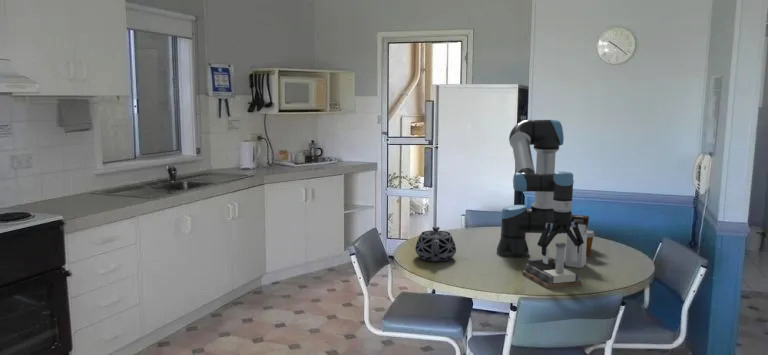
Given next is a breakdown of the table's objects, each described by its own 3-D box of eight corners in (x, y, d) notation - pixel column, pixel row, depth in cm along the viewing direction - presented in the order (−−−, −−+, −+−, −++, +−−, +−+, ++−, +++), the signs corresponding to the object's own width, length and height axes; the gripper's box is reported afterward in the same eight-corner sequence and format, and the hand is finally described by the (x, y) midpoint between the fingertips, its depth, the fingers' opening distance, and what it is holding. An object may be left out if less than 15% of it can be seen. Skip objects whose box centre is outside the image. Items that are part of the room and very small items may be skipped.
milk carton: (581, 268, 278) (583, 226, 276) (565, 266, 282) (567, 224, 279) (585, 264, 284) (587, 223, 282) (569, 262, 288) (571, 221, 285)
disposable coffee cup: (594, 258, 294) (595, 233, 293) (573, 257, 296) (574, 232, 295) (592, 253, 304) (593, 229, 302) (571, 252, 306) (572, 228, 304)
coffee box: (567, 247, 315) (569, 216, 313) (569, 244, 321) (570, 213, 319) (586, 249, 312) (588, 217, 309) (587, 246, 317) (589, 215, 315)
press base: (522, 274, 269) (522, 259, 268) (555, 271, 274) (555, 256, 273) (546, 288, 250) (547, 272, 249) (581, 285, 255) (582, 269, 254)
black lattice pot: (453, 249, 310) (454, 220, 308) (457, 267, 279) (458, 234, 277) (415, 249, 311) (415, 219, 309) (415, 266, 280) (415, 233, 278)
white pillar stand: (543, 277, 258) (544, 242, 256) (564, 275, 261) (566, 240, 259) (553, 283, 251) (555, 246, 249) (575, 281, 253) (577, 245, 251)
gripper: (539, 213, 245) (537, 266, 248) (594, 210, 252) (591, 262, 255) (530, 210, 252) (528, 261, 255) (583, 207, 259) (581, 257, 262)
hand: (559, 262), depth 255 cm, fingers open, 12 cm apart
